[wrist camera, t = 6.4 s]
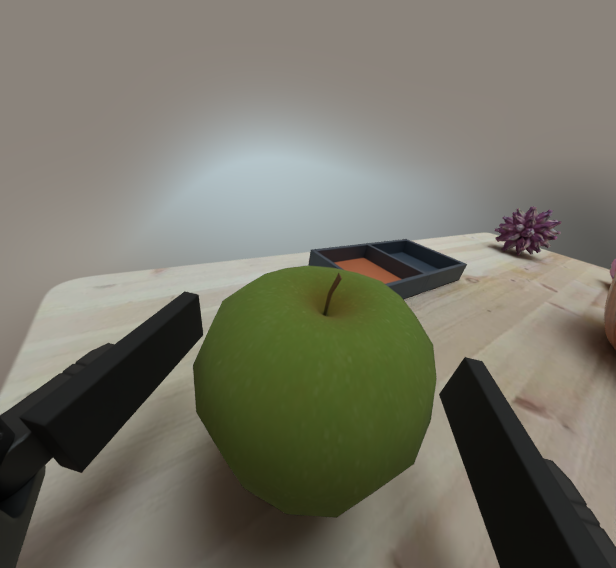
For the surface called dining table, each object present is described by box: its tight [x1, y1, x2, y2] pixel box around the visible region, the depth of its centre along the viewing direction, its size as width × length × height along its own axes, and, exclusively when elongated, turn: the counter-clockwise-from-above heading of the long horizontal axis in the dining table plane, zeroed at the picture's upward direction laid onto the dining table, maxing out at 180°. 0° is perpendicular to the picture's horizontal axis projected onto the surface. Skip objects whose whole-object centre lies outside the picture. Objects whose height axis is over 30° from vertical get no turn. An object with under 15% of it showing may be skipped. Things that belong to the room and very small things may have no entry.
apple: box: [193, 266, 436, 517], centre depth 10 cm, size 9×8×12 cm
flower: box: [495, 207, 561, 256], centre depth 56 cm, size 12×12×12 cm
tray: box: [309, 239, 467, 299], centre depth 35 cm, size 23×12×3 cm, turn 123°
